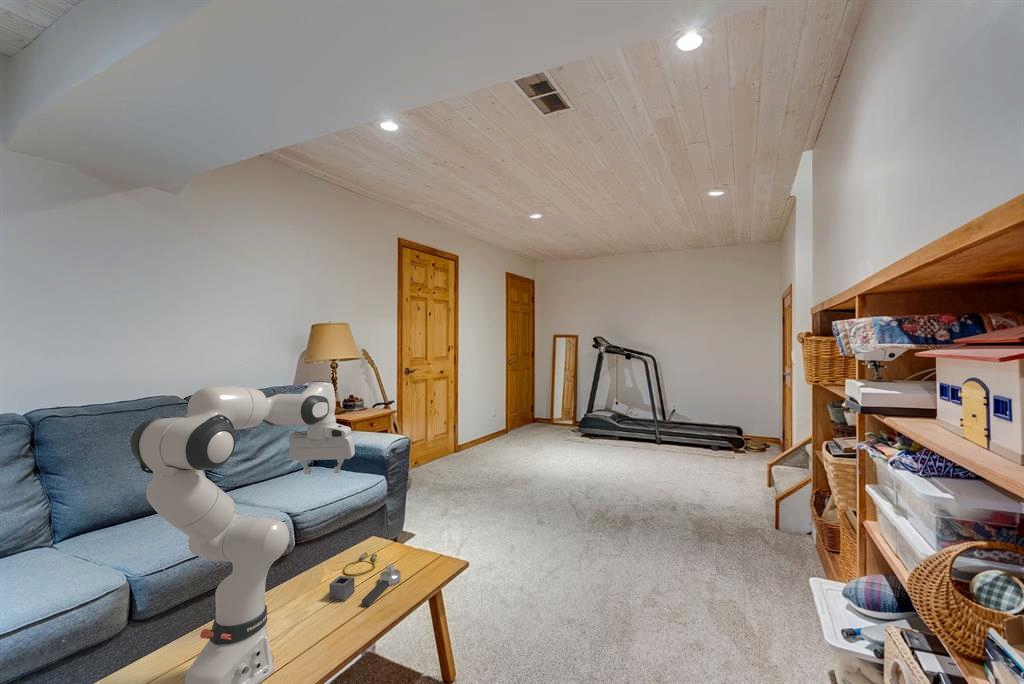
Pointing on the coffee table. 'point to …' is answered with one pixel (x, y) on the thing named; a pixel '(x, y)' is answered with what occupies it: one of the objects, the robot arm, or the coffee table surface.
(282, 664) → the coffee table surface
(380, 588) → the ratchet
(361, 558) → the extension cord
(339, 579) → the socket
